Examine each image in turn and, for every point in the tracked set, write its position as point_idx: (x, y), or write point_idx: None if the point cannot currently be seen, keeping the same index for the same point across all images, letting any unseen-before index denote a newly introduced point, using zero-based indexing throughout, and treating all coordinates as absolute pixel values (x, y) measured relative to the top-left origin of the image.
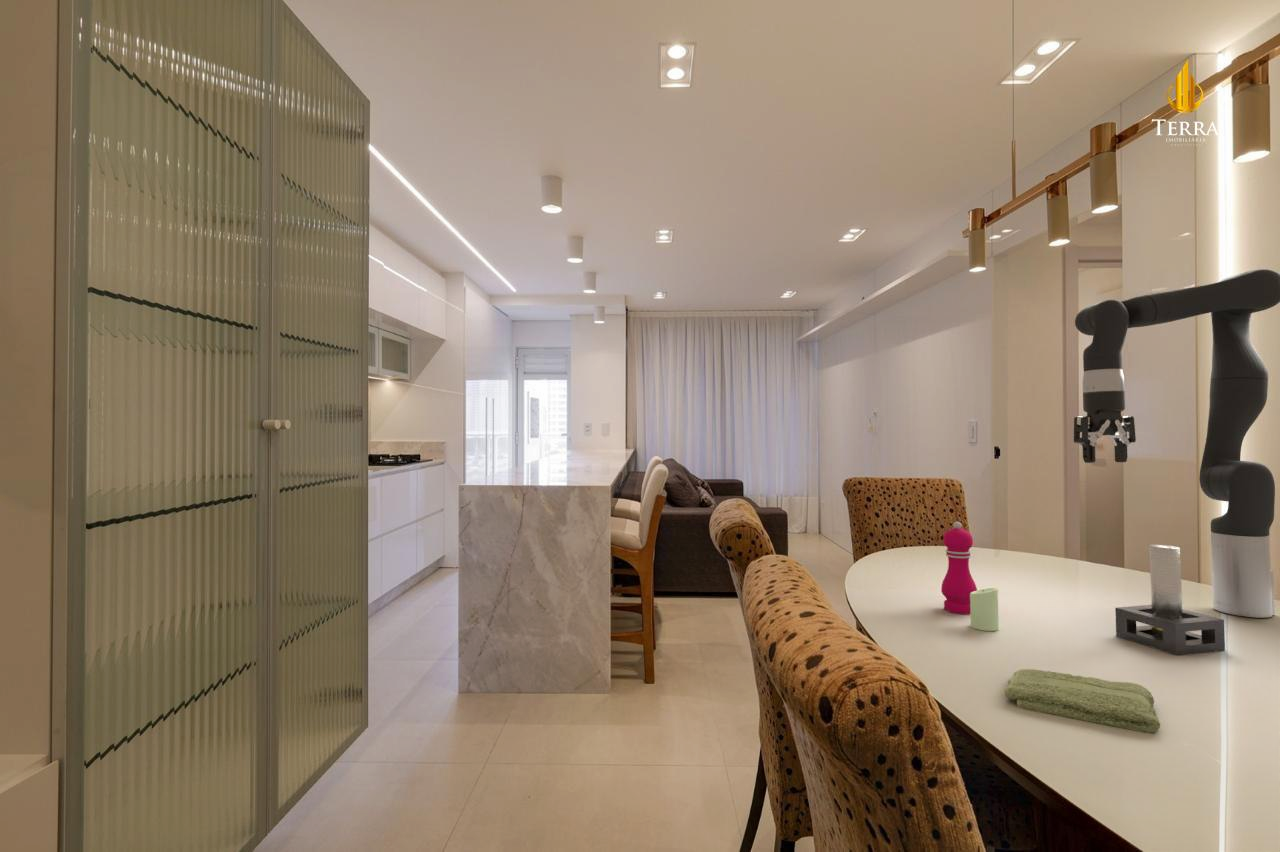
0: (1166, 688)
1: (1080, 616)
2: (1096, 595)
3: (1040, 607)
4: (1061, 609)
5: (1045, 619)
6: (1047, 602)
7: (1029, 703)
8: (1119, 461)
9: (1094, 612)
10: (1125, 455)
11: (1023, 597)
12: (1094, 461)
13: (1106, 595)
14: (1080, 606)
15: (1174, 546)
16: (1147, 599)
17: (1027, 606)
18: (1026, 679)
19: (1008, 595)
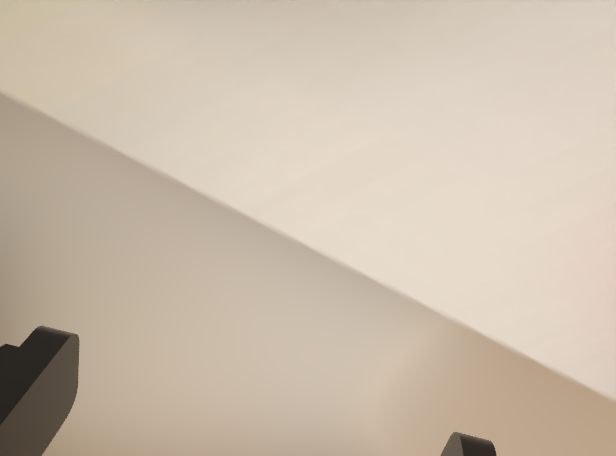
0: None
1: (487, 84)
2: (200, 184)
3: (477, 189)
4: (450, 150)
5: (608, 114)
6: (403, 207)
7: None
8: (73, 371)
9: (403, 88)
10: (17, 372)
11: (404, 264)
12: (469, 437)
13: (174, 170)
14: (368, 142)
15: None
16: (111, 91)
17: (497, 211)
18: None
19: (417, 293)
